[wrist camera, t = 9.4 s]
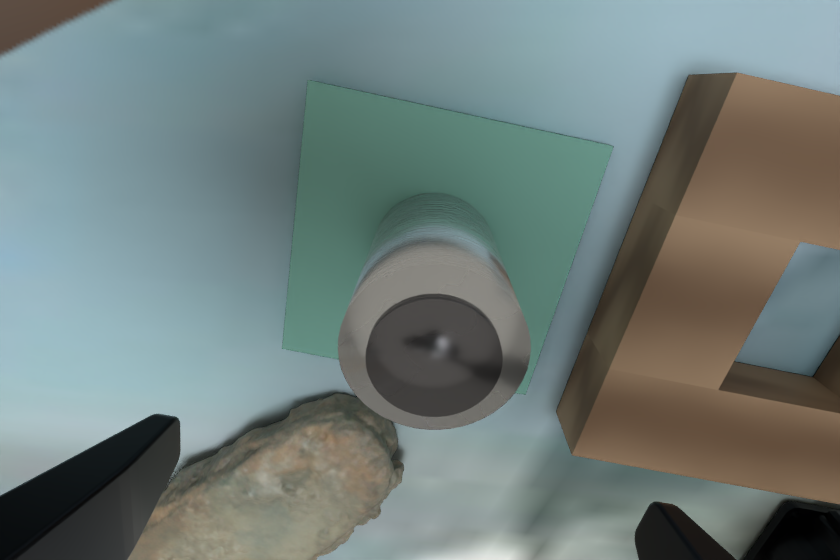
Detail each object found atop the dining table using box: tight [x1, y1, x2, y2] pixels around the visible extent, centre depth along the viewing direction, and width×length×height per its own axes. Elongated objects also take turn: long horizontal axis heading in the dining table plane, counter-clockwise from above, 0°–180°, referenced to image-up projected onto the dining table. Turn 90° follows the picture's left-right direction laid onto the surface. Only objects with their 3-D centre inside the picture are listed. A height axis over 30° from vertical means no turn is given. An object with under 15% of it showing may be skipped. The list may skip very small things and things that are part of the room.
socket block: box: [556, 73, 840, 504], centre depth 19 cm, size 16×16×3 cm
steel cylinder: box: [338, 193, 531, 430], centre depth 16 cm, size 5×5×8 cm
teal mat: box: [282, 80, 614, 395], centre depth 20 cm, size 12×12×1 cm
